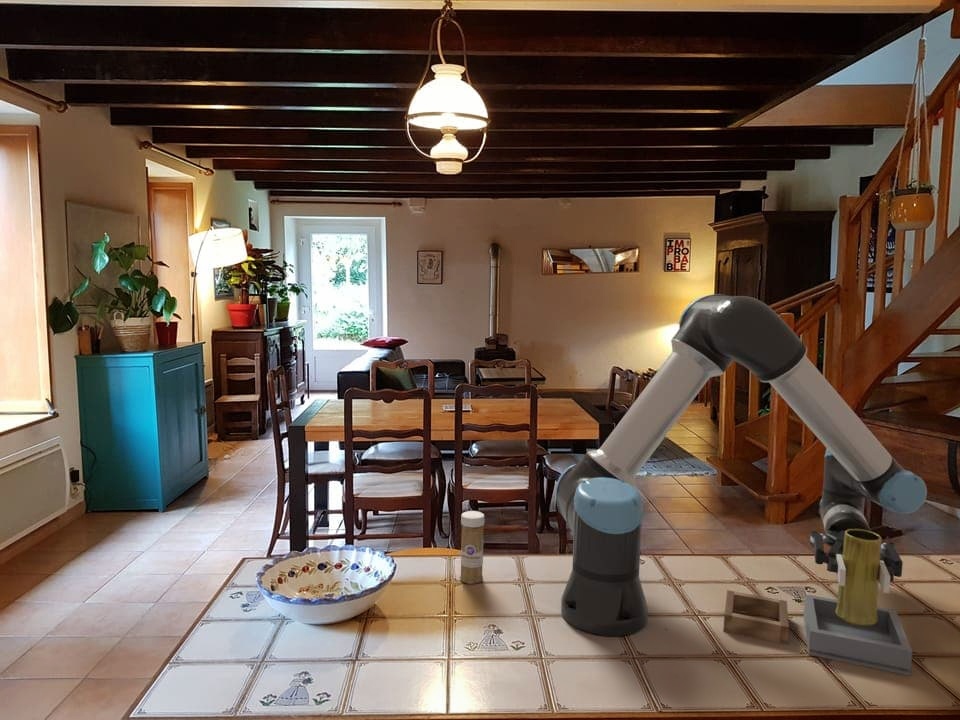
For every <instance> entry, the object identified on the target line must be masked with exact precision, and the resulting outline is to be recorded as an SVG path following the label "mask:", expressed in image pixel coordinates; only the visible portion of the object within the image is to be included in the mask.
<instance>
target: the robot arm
mask: <svg viewBox="0 0 960 720" xmlns="http://www.w3.org/2000/svg"><path fill="white" fill-rule="evenodd" d="M679 318H680V319H679V322H678V325H679V329H678V330H677V332H676V333H675V334H674V336H673V337H672V338H671V340H670V344H671V349H672V351H671V353H670V354H669V356H668V357H667V358H666V359H665V361H664V362H663V364H661V366H660V367H659V369H658V370H657V372H656V373H655V374H654V375H653V377H652V379H650V381H649V382H648V384H647V385H646V386H645V388H644V389H643V390H642V391H641V393H640V394H639V396H638V397H637V398H636V399H635V401H634V402H633V404H631V406H630V408H629V409H628V410H627V411H626V413H625V414H624V416H623V417H622V418H621V420H619V422H618V424H617V425H616V426H615V427H614V428H613V430H612V432H611V433H610V434H609V436H608V437H607V438H606V439H605V441H604V442H603V444H602V445H601V446H600V447H599V448H598V449H593V450H587V452H586V453H585V454H584V455H583V457H582V458H581V460H580V461H579V462H578V463H576V464H572V465H570V466H569V467H567V468H566V469H565V470H563V472H562V473H561V474H560V475H559V477H558V478H557V482H556V485H555V490H554V493H555V494H554V495H555V501H556V505H557V509H558V512H559V513H560V515H561V516H562V517H563V519H564V520H565V522H566V523H567V525H568V527H569V528H570V530H571V531H572V533H573V534H572V535H573V536H572V537H573V543H572V544H573V545H572V569H571V572H570V575H569V578H568V579H567V582H566V584H565V585H566V586H565V589H564V591H563V593H562V595H561V600H560V601H561V602H560V603H561V606H560V612H561V616H562V617H563V619H564V620H565V621H566V622H567V623H568V624H570V625H571V626H572V627H574V628H576V629H577V630H581V631H584V632H586V633H589V634H594V635H598V636H605V637H621V636H622V637H623V636H626V635H628V636H629V635H632V634H636V633H638V632H639V631H641V630H642V629H644V628H645V626H646V625H647V622H648V613H649V609H648V608H649V607H648V604H647V600H646V597H645V593H644V589H643V586H642V583H641V579H640V563H641V548H642V547H641V546H642V545H641V544H642V528H643V527H642V526H643V519H644V518H643V517H644V507H643V497H642V496H641V493H640V492H639V490H638V489H637V483H636V476H637V474H638V473H639V472H640V471H641V470H642V468H643V467H644V465H645V464H646V463H647V462H648V460H649V459H650V458H651V456H652V455H653V453H654V452H655V451H656V449H657V448H658V446H660V444H661V443H662V442H663V440H665V438H666V436H667V435H669V434H668V433H669V432H670V431H671V430H672V428H673V427H674V425H675V424H676V423H677V422H678V420H679V419H680V418H681V416H682V415H683V414H684V413H685V411H686V410H687V408H688V407H689V406H690V405H691V404H692V402H693V401H694V399H695V398H696V397H697V395H698V394H699V393H700V392H701V390H702V389H703V388H704V386H705V385H706V384H707V382H708V381H709V379H710V378H714V377H720V376H723V374H724V373H725V372H726V371H727V369H728V368H729V367H730V365H731V364H732V363H733V361H734V362H736V363H738V364H740V365H741V366H744V367H745V368H746V369H748V370H749V372H751V373H752V374H753V375H754V376H755V377H756V378H757V379H758V381H759V382H761V383H769V384H770V385H771V387H772V388H773V389H774V390H775V392H777V393H778V395H779V396H780V397H781V398H782V399H783V400H784V401H785V402H786V404H788V406H789V407H790V408H791V409H792V410H793V411H794V413H795V414H797V417H799V418H800V419H801V420H802V422H803V423H804V424H805V425H806V426H807V428H808V429H809V430H810V431H811V432H812V433H813V434H814V436H815V437H816V438H818V440H819V441H820V442H821V443H822V444H823V446H824V447H825V448H826V449H825V454H824V455H823V457H824V465H823V467H824V468H823V486H822V493H821V499H820V502H819V509H818V511H819V512H818V513H819V515H820V518H821V520H822V523H823V524H822V525H823V528H824V532H825V534H823V533H819V532H818V531H817V530H810V536H809V537H810V540H809V545H810V546H811V548H813V553H814V562H815V564H816V565H823V564H826V565H827V568H826V571H828V572H829V573H835V574H836V578H837V581H838V586H839V585H841V586H845V575H846V568H845V565H844V562H843V558H842V556H843V545H844V535H845V531H846V530H848V529H863V530H868V531H871V532H872V530H871V527H870V526H869V524H868V522H867V519H866V517H865V515H864V512H865V511H864V509H865V500H866V499H867V500H868V501H871V502H874V503H876V504H877V505H879V506H881V507H882V508H884V509H886V510H888V511H893V512H894V513H897V514H901V515H902V514H903V515H908V514H911V513H912V514H913V513H914V512H916V511H918V510H919V509H921V507H922V506H923V505H924V504H925V502H926V500H927V496H928V488H927V485H926V483H925V481H924V480H923V479H922V478H921V477H920V476H918V475H917V474H915V473H914V472H913V471H910V470H906V469H904V468H903V467H902V466H901V465H900V464H899V463H898V462H897V460H896V459H895V458H894V457H893V456H892V454H890V452H888V450H887V449H886V448H885V447H884V446H883V444H882V443H881V442H880V441H879V440H878V439H877V438H876V436H875V435H874V434H873V432H871V430H870V429H869V428H868V427H867V426H866V425H865V423H864V422H863V421H862V420H861V418H859V416H858V415H857V413H855V412H854V410H853V409H852V408H851V407H850V406H849V405H848V403H847V402H846V401H845V400H844V399H843V397H842V396H841V395H840V394H839V393H838V392H837V390H836V389H835V388H834V387H833V386H832V385H831V384H830V382H829V381H828V379H826V378H825V376H824V375H823V374H822V373H821V371H819V369H818V368H817V367H816V366H815V365H814V364H813V363H812V361H811V360H810V359H809V358H808V357H807V355H808V354H807V353H808V348H807V346H806V344H805V343H804V342H803V341H802V340H801V339H800V337H799V336H798V335H797V334H796V332H794V331H793V330H792V328H791V327H790V326H789V325H788V324H787V323H786V321H785V320H783V318H782V317H781V316H779V314H778V313H777V312H775V310H773V309H772V308H771V306H769V305H767V304H766V303H765V302H763V301H761V300H759V299H757V298H755V297H752V296H747V295H737V296H736V295H727V294H721V293H716V294H715V293H714V294H709V295H708V294H707V295H705V296H701V297H698V298H696V299H695V300H693V301H692V302H690V303H689V304H688V305H687V306H686V307H685V309H684V310H683V312H682V314H681V316H680V317H679ZM824 544H826V545H827V546H829V547H830V549H829V550H828V552H825V547H824ZM903 564H904V562H903V560H902V558H901V556H900V555H899V553H898V552H897V550H896V543H895V542H893V541H887V542H883V543H881V554H880V565H879V586H880V587H881V589H882V593H883V594H890V587H891V586H890V585H891V582H892V583H894V579H895V577H897V578H900V577H902V574H903Z"/></svg>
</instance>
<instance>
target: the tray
mask: <svg viewBox="0 0 960 720" xmlns="http://www.w3.org/2000/svg"><path fill="white" fill-rule="evenodd" d="M837 602H838V599H834V598H829V597H823V596H817V595H811V594H806V593H805V594H804V606H803V621H804V622H805V623H804V622H803V623H804V630H806V631H805V639H806V644H807V645H806V646H807V653H808V655H809V656H814V657H818V658H823V659H828V660H834V661H838V662H843V663H847V664H853V665H857V666H861V667H866V668H870V669H871V668H872V669H876V670H881V671H885V672H891V673H895V674H900V675H904V676H911V670H912V661H913V649H912V646H911V644H910V641H909V639H908V637H907V634H906V632H905V630H904V627H903V625H902V621H901V619H900V618H899V615H898V613H897V610H896V609H890V608H886V607H885V608H884V607H879V606H877V623H876V624H874V625H870V626H862V625H856V624H852V623H849V622H847V621H844V620H843V619H841V618H840V617H838V616H837V614H836V612H835V610H836V607H837Z"/></svg>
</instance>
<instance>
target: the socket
mask: <svg viewBox="0 0 960 720" xmlns="http://www.w3.org/2000/svg"><path fill="white" fill-rule="evenodd" d="M733 611H737V612H743V613H748V614H754V615H758V616H763V617H769V618H774V619H778V621H775V620H771V619H766V618H762V617H761V618H760V617H756V616H751V615H745V614H739V613H737V612H736V613H734V612H733ZM788 612H789V611H788V601H787V600H784V599H779V598H772V597H767V596H762V595H757V594H751V593H746V592H739V591H735V590H734V591H733V590H728V589H727V590H726V599H725V608H724V615H723V616H724V618H723V632H726V633H731V634H736V635H740V636H744V637H745V636H746V637H750V638H753V639H760V640H765V641H769V642H775V643H780V644H785V645H788V642H789V630H790V625H789V613H788Z"/></svg>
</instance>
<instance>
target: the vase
mask: <svg viewBox="0 0 960 720" xmlns="http://www.w3.org/2000/svg"><path fill="white" fill-rule="evenodd" d="M881 544H882V536H881V535H880V534H878V533H876V532H874V531H872V530H871V531H868V530H863V529H848V530H846V531H845V535H844V545H843V556H842V558H843V562H844V565H845V568H846V575H845V586H841V585H839V584H838V591H837V600H838V602H837V607H836V610H835V612H836V614H837V616H838V617H840V618H841V619H843V620H844V621H847V622H849V623H852V624H856V625H862V626H870V625H874V624H876V623H877V607H878V595H879V585H880V583H879V565H880V554H881Z"/></svg>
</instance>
